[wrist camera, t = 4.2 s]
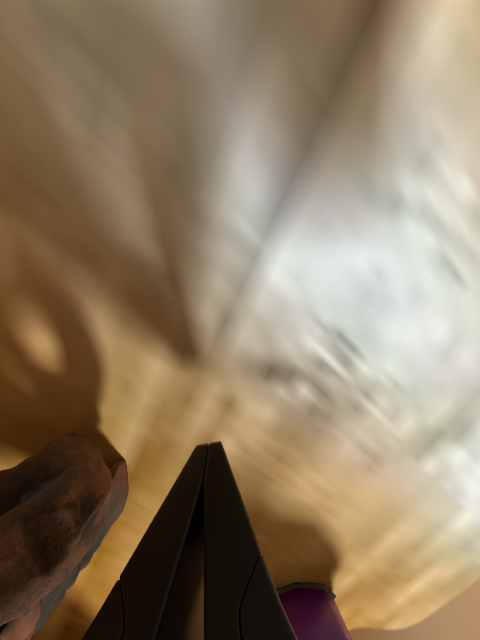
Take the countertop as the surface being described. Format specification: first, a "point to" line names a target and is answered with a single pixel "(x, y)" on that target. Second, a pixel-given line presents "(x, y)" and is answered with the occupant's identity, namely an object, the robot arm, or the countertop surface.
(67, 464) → the brown looped piece
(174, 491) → the robot arm
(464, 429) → the countertop surface
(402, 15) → the countertop surface
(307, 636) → the potion bottle
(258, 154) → the countertop surface
